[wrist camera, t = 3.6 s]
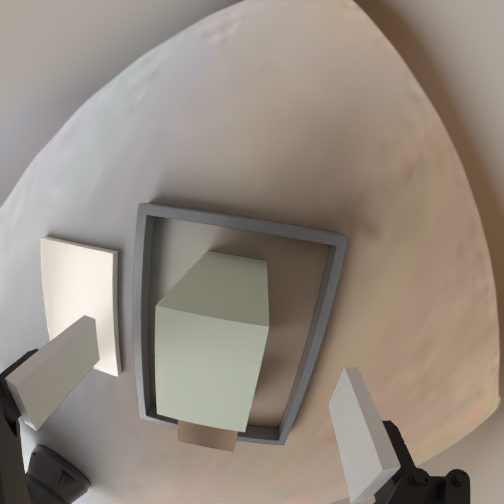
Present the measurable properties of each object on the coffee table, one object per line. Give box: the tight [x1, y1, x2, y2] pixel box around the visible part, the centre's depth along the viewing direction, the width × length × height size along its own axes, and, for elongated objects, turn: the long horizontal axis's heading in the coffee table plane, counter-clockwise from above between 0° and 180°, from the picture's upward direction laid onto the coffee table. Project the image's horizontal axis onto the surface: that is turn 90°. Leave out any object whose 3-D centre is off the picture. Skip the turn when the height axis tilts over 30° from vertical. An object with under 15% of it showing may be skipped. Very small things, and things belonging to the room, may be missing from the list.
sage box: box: [155, 251, 269, 432], centre depth 18 cm, size 5×7×12 cm
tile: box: [40, 236, 122, 377], centre depth 25 cm, size 10×14×1 cm
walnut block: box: [178, 420, 238, 451], centre depth 23 cm, size 5×5×7 cm
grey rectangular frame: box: [133, 203, 348, 445], centre depth 24 cm, size 17×24×2 cm
